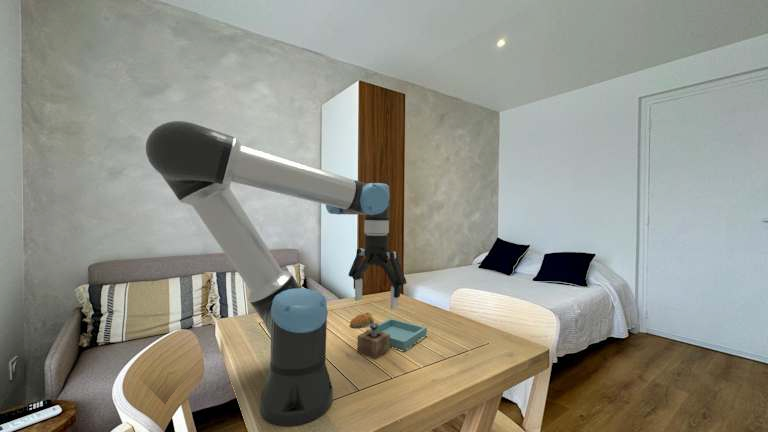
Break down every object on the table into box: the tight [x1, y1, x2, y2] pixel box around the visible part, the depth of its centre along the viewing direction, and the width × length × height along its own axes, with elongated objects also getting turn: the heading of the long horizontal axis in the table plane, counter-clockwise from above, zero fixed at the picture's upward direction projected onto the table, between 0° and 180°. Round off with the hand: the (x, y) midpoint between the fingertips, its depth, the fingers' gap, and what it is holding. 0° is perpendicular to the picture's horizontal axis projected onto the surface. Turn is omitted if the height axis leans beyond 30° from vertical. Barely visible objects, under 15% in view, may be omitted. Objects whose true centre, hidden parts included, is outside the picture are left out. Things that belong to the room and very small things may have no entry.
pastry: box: [349, 312, 375, 329], centre depth 111 cm, size 9×7×4 cm
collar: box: [356, 330, 391, 360], centre depth 89 cm, size 7×7×5 cm
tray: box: [365, 317, 428, 352], centre depth 100 cm, size 15×15×3 cm
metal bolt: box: [369, 322, 380, 338], centre depth 89 cm, size 3×3×8 cm
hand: (375, 303), depth 89 cm, fingers open, 13 cm apart
